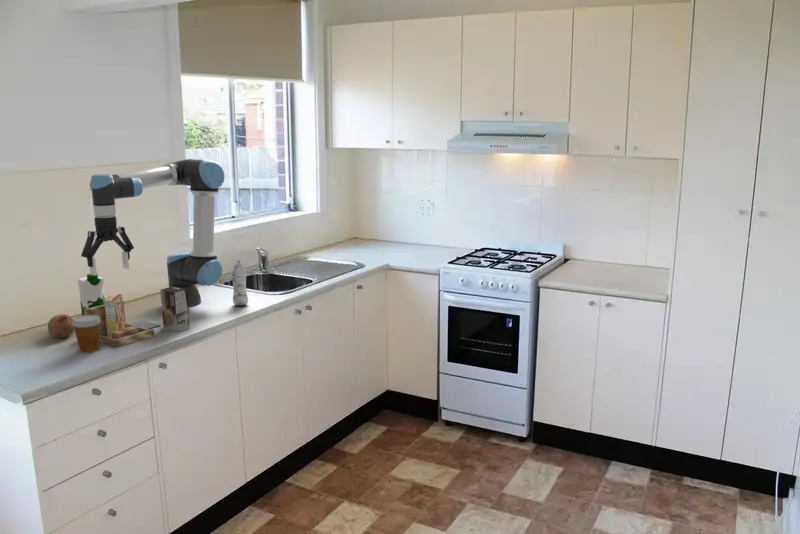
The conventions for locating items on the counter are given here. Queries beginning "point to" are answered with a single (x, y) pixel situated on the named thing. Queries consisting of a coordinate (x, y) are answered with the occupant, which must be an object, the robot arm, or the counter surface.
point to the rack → (128, 339)
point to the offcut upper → (125, 332)
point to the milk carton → (91, 292)
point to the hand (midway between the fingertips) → (110, 271)
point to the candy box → (114, 313)
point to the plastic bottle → (239, 284)
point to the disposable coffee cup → (87, 332)
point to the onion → (61, 326)
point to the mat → (146, 324)
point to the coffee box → (175, 308)
